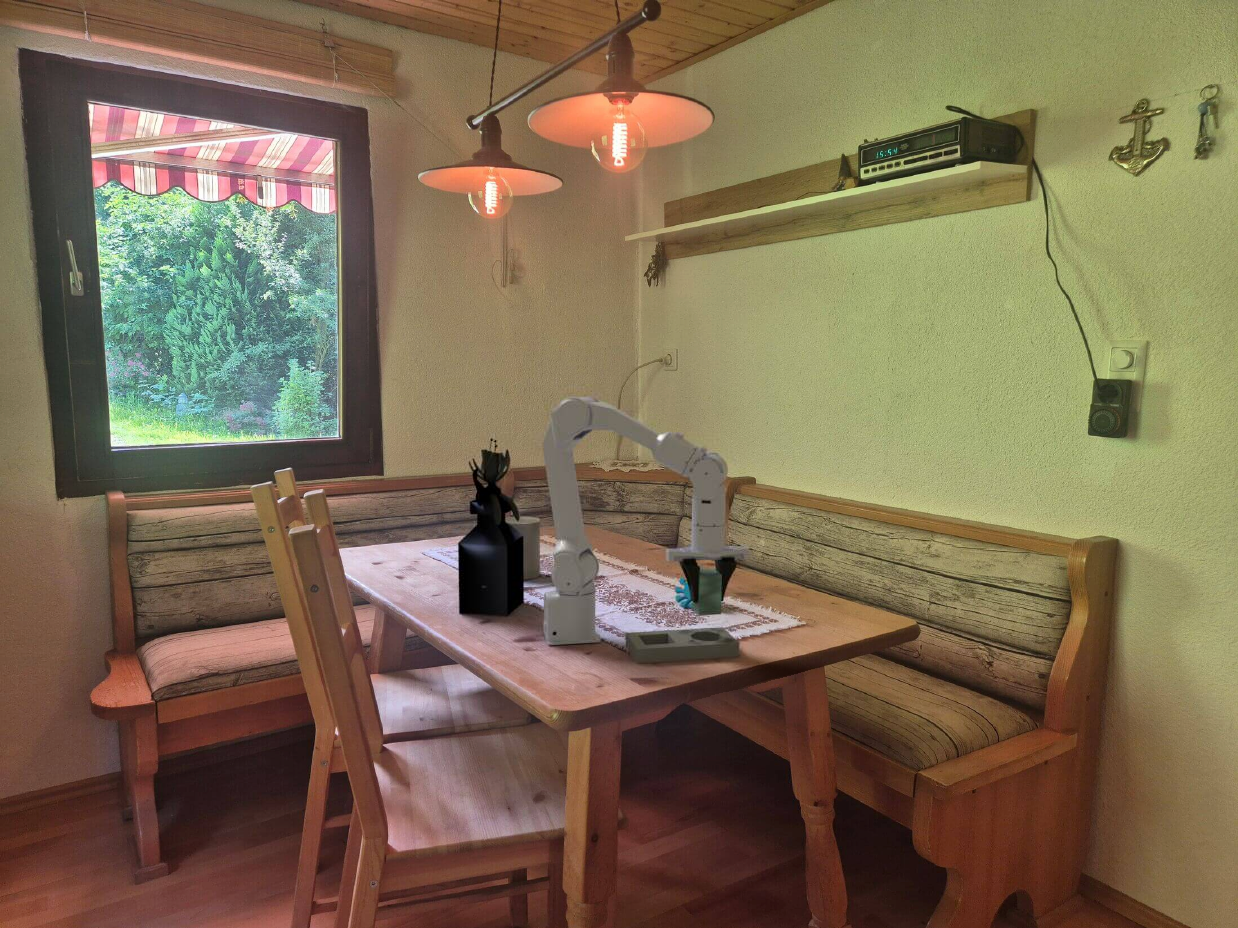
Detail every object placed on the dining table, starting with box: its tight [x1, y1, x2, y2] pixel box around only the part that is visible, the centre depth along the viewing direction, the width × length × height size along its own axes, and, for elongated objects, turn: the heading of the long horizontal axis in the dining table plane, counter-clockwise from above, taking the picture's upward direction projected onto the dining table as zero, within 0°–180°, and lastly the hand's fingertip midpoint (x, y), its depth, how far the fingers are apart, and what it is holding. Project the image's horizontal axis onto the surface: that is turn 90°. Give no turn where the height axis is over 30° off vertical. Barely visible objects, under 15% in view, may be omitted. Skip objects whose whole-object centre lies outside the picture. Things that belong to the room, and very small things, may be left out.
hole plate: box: [625, 626, 740, 665], centre depth 144 cm, size 18×9×2 cm, turn 102°
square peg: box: [691, 568, 722, 616], centre depth 145 cm, size 4×4×7 cm
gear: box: [674, 567, 722, 610], centre depth 174 cm, size 11×6×10 cm
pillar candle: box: [505, 513, 541, 581], centre depth 198 cm, size 10×10×15 cm
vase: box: [457, 438, 525, 618], centre depth 168 cm, size 14×12×35 cm
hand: (706, 600), depth 144 cm, fingers closed on square peg, 4 cm apart
